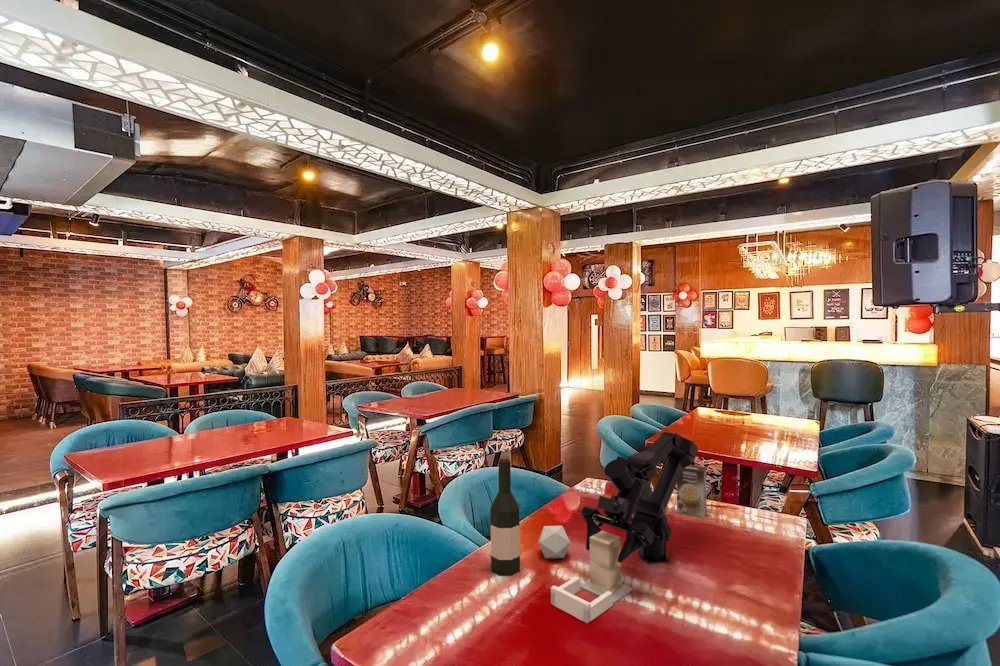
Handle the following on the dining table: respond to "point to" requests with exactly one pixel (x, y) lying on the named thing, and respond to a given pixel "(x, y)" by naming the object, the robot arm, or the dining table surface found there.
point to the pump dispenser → (647, 489)
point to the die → (554, 542)
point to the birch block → (605, 562)
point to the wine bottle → (505, 526)
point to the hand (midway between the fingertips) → (602, 555)
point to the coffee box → (692, 491)
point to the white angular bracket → (579, 601)
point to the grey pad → (615, 595)
